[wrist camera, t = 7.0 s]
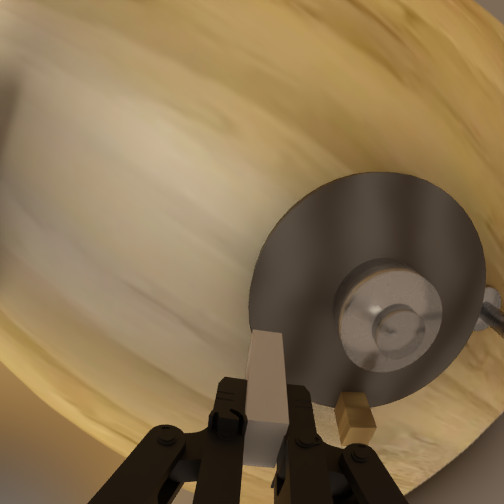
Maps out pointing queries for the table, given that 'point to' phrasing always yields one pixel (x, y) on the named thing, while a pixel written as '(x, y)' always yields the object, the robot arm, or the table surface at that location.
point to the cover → (386, 315)
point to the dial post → (491, 312)
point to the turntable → (343, 262)
